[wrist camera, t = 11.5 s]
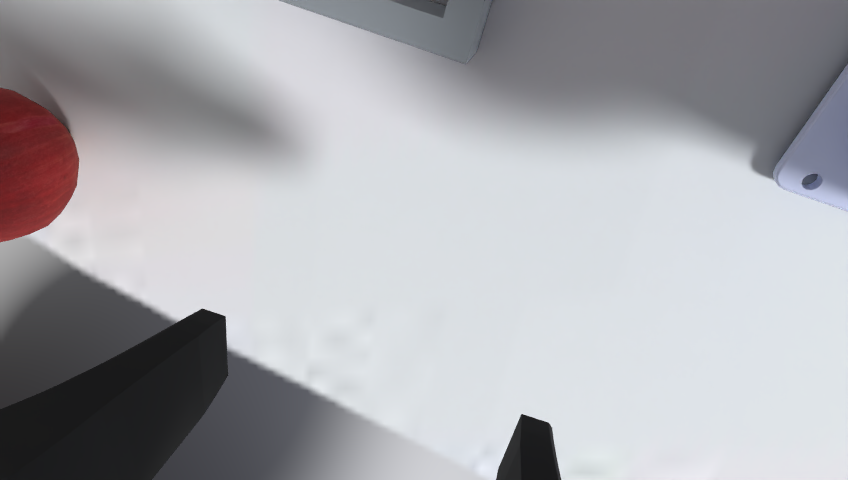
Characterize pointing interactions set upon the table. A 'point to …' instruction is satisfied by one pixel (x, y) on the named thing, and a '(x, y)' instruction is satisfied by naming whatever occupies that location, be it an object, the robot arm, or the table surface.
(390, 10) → the collar
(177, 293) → the table surface
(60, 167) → the onion
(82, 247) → the table surface
